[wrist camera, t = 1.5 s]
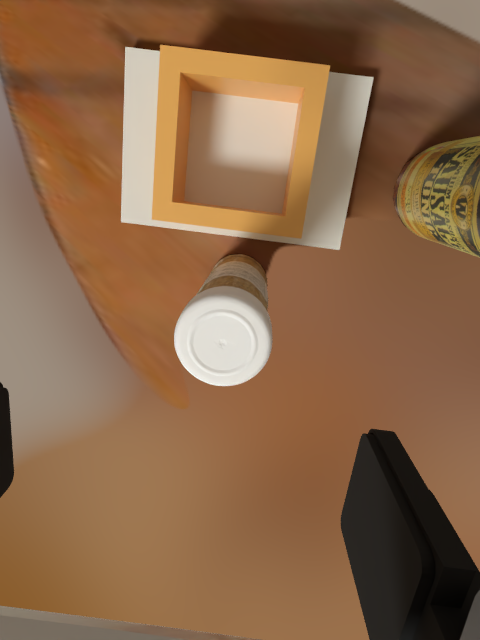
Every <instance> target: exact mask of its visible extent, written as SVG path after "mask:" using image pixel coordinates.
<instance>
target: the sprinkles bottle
mask: <svg viewBox="0 0 480 640" xmlns="http://www.w3.org/2000/svg"><path fill="white" fill-rule="evenodd" d="M267 308H268V295H267V278H266V274H265V271H264V270H263V268H262V266H261V265H260V263H258V262H257V261H256V260H255V259H253V258H251V257H249V256H247V255H243V254H234V255H229V256H227V257H225V258H223V259H221V260H220V261H219V262H218V263H217V264H216V265H215V266H214V268H213V270H212V271H211V274H210V275H209V276H208V278H207V279H206V281H205V282H204V284H203V286H202V287H201V289H200V290H199V292H198V293H197V295H196V296H195V297H193V298H192V299H191V301H190V302H189V303H188V304H187V306H186V307H185V308H184V310H183V312H182V313H181V315H180V317H179V319H178V321H177V324H176V328H175V333H174V343H175V349H176V352H177V355H178V357H179V359H180V361H181V363H182V364H183V366H184V367H185V368H186V370H188V372H190V373H191V374H192V375H193V376H195V377H196V378H198V379H199V380H201V381H204V382H206V383H208V384H212V385H217V386H231V385H237V384H240V383H243V382H245V381H247V380H249V379H250V378H252V377H254V376H255V375H256V374H257V373H258V372H259V371H260V370H261V369H262V368H263V367H264V365H265V364H266V362H267V360H268V358H269V355H270V353H271V348H272V326H271V321H270V317H269V314H268V312H267Z"/></svg>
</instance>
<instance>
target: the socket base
mask: <svg viewBox="0 0 480 640" xmlns="http://www.w3.org/2000/svg"><path fill="white" fill-rule="evenodd" d="M329 70H330V65H323V64H314V63H306V62H298V61H290V60H282V59H274V58H265V57H257V56H249V55H241V54H233V53H225V52H216V51H208V50H200V49H192V48H184V47H176V46H167V45H160V51H155V50H147V49H139V48H131V47H125V84H124V123H123V162H122V201H121V222H126V223H134V224H141V225H149V226H157V227H165V228H173V229H180V230H188V231H196V232H204V233H211V234H219V235H227V236H235V237H243V238H250V239H258V240H266V241H274V242H282V243H289V244H297V245H305V246H313V247H321V248H329V249H336V250H340V245H341V239H342V235H343V229H344V224H345V219H346V214H347V209H348V204H349V199H350V194H351V189H352V184H353V179H354V174H355V169H356V164H357V159H358V154H359V149H360V144H361V139H362V134H363V129H364V124H365V118H366V113H367V108H368V103H369V98H370V93H371V88H372V83H373V78H374V77H367V76H359V75H351V74H343V73H334V72H329Z"/></svg>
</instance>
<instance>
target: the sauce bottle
mask: <svg viewBox="0 0 480 640" xmlns="http://www.w3.org/2000/svg"><path fill="white" fill-rule="evenodd" d="M393 200H394V205H395V209H396V211H397V214H398V216H399V218H400V219H401V222H402V223H403V225H404V226H405V227H407V228H408V229H409V230H411V231H412V232H413V233H415V234H416V235H418V236H420V237H422V238H425V239H428V240H431V241H434V242H437V243H440V244H442V245H445V246H449V247H451V248H454V249H457V250H460V251H463V252H466V253H469V254H471V255H474V256H477V257H480V136H476V137H470V138H465V139H460V140H454V141H449V142H444V143H440V144H437V145H435V146H432V147H430V148H428V149H426V150H424V151H422V152H421V153H419V154H418V155H416V156H415V157H414V158H412V159H411V160H410V161H409V162H407V163H406V165H405V166H404V168H403V170H402V171H401V173H400V175H399V177H398V180H397V182H396V185H395V188H394V196H393Z"/></svg>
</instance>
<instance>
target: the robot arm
mask: <svg viewBox="0 0 480 640" xmlns="http://www.w3.org/2000/svg"><path fill="white" fill-rule="evenodd" d="M13 476H14V467H13V451H12V436H11V422H10V407H9V393H8V390H7V389H6V388H3V385H2V384H1V383H0V497H1V496H2V495H3V494H4V493H5V491H6V490H7V489H8V488H9V486H10V484H11V482H12V480H13ZM341 529H342V533H343V537H344V542H345V545H346V549H347V553H348V557H349V560H350V565H351V569H352V573H353V576H354V580H355V584H356V588H357V592H358V595H359V600H360V604H361V608H362V612H363V615H364V619H365V623H366V627H367V631H368V635H369V639H370V640H480V572H479V570H478V568H477V567H476V565H475V563H474V562H473V560H472V558H471V557H470V555H469V553H468V552H467V550H466V548H465V547H464V545H463V543H462V542H461V540H460V538H459V537H458V535H457V533H456V531H455V530H454V528H453V526H452V525H451V523H450V521H449V520H448V518H447V517H446V515H445V513H444V511H443V510H442V508H441V506H440V505H439V503H438V501H437V500H436V498H435V496H434V495H433V493H432V492H431V491H430V490H428V488H427V486H426V484H425V483H424V481H423V479H422V478H421V476H420V474H419V473H418V471H417V469H416V467H415V466H414V464H413V462H412V461H411V459H410V457H409V456H408V454H407V452H406V451H405V449H404V447H403V446H402V444H401V442H400V440H399V439H398V437H397V435H396V434H395V433H394V432H392V431H384V430H377V429H371V430H370V431H369V433H368V434H362V436H361V439H360V442H359V447H358V451H357V454H356V459H355V462H354V466H353V471H352V475H351V479H350V482H349V487H348V490H347V494H346V499H345V502H344V507H343V510H342V515H341ZM0 640H259V639H251V638H244V637H237V636H229V635H222V634H214V633H206V632H200V631H191V630H184V629H177V628H169V627H162V626H154V625H146V624H138V623H129V622H123V621H115V620H107V619H100V618H92V617H84V616H76V615H68V614H60V613H52V612H44V611H36V610H28V609H21V608H13V607H4V606H0Z"/></svg>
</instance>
